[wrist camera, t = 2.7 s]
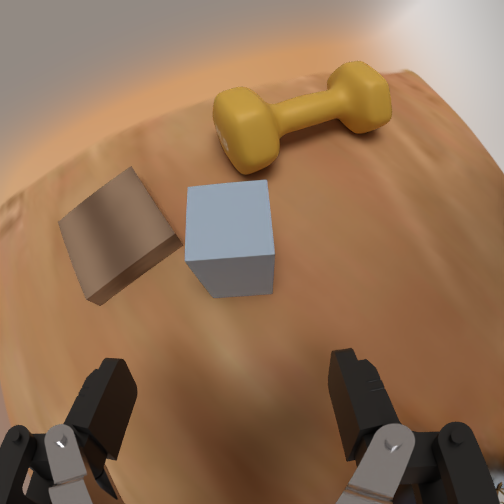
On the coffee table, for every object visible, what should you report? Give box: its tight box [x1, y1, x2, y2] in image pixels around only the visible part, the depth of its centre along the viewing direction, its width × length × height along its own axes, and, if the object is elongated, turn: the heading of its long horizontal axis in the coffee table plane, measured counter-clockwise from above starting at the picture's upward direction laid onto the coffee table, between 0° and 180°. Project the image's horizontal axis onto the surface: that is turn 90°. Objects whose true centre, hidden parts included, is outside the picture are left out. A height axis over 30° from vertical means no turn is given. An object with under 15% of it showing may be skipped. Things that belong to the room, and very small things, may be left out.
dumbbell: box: [213, 61, 392, 175], centre depth 27 cm, size 19×9×8 cm, turn 115°
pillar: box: [185, 180, 275, 298], centre depth 21 cm, size 5×5×9 cm
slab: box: [58, 166, 183, 306], centre depth 26 cm, size 10×10×3 cm
